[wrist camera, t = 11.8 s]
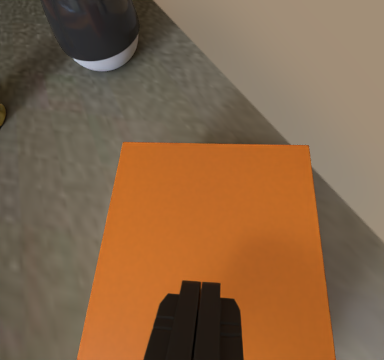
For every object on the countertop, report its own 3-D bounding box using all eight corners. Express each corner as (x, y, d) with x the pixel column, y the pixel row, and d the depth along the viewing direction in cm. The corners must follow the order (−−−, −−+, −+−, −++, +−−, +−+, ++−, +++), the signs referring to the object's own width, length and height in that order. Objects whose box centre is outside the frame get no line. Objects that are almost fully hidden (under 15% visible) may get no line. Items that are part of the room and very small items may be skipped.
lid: (126, 147, 19) (122, 141, 19) (305, 151, 18) (309, 144, 17) (65, 445, 13) (56, 454, 12) (344, 487, 11) (353, 500, 10)
